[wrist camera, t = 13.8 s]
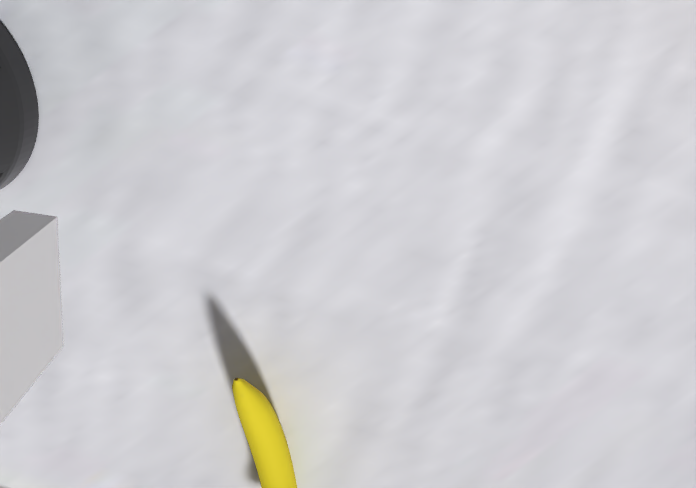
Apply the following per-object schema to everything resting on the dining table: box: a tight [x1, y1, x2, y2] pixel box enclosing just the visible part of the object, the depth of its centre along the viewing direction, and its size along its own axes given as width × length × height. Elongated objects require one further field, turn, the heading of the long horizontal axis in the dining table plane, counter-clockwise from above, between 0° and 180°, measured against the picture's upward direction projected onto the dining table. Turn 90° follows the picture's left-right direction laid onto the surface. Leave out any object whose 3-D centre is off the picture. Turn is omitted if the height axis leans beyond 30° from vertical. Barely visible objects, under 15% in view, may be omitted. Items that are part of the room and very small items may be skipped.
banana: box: [232, 378, 297, 488], centre depth 48 cm, size 3×19×6 cm, turn 9°
